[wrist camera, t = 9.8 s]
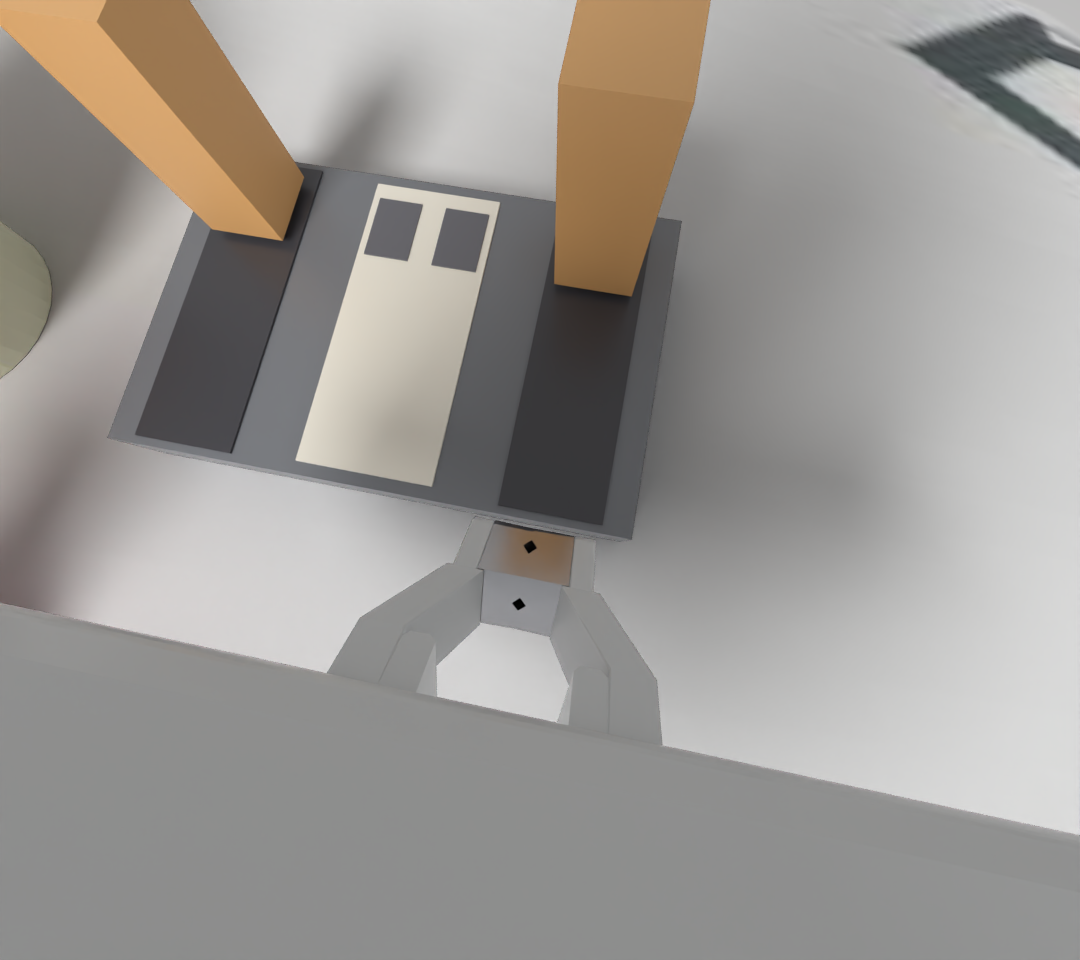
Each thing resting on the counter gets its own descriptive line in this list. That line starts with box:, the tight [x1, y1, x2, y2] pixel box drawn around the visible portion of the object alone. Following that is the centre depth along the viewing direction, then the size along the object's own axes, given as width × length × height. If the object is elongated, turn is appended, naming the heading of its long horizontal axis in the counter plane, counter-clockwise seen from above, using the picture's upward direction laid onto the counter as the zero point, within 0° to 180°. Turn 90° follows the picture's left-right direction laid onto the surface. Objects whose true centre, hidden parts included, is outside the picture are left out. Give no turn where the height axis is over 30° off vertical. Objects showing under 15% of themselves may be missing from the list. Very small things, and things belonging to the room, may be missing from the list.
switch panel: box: [107, 162, 682, 542], centre depth 18 cm, size 13×20×3 cm, turn 79°
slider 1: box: [0, 0, 304, 241], centre depth 14 cm, size 3×3×7 cm
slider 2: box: [554, 0, 711, 297], centre depth 13 cm, size 3×3×7 cm
